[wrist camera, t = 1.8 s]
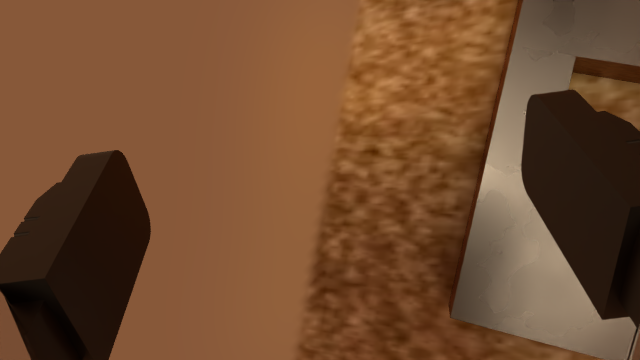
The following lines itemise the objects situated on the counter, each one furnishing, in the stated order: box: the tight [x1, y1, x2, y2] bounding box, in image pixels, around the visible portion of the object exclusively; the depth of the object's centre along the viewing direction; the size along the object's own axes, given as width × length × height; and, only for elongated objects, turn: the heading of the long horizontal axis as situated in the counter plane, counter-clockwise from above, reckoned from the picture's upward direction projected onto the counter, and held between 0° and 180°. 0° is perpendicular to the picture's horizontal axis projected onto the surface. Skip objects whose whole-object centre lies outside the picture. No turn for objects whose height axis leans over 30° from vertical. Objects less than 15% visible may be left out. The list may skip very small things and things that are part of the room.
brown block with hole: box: [449, 0, 640, 360], centre depth 27 cm, size 22×12×3 cm, turn 167°
